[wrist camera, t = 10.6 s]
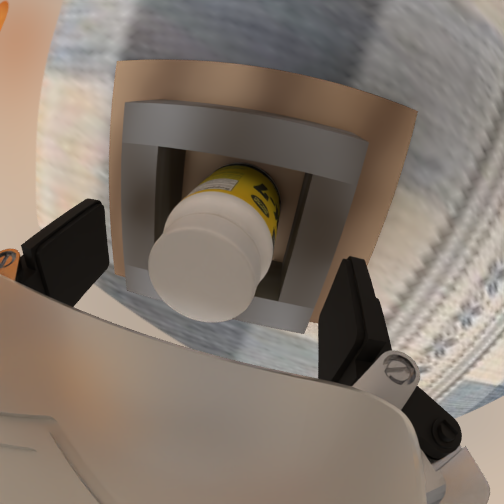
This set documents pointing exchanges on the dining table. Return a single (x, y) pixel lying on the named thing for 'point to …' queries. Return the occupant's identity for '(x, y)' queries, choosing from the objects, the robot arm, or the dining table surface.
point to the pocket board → (262, 156)
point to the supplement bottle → (217, 244)
